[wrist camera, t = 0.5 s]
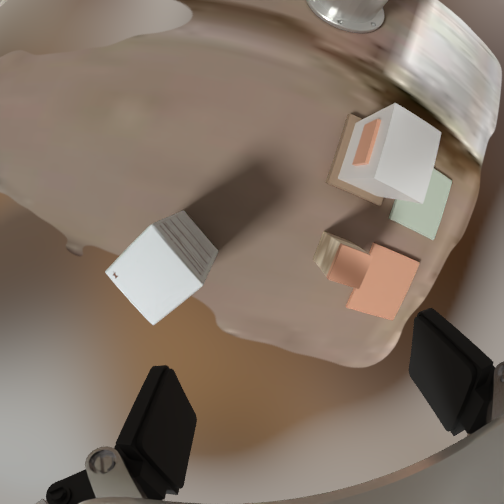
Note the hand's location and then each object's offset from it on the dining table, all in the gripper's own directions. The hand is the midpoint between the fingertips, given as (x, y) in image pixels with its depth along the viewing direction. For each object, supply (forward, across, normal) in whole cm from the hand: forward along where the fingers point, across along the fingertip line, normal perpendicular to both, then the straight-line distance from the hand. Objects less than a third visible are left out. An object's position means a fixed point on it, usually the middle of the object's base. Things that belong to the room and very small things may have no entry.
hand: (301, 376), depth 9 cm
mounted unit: (+27, -15, -7) cm, 32 cm away
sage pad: (+27, -24, -1) cm, 36 cm away
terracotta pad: (+27, -16, +11) cm, 33 cm away
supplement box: (+27, +11, -1) cm, 30 cm away
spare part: (+27, -8, +4) cm, 29 cm away
